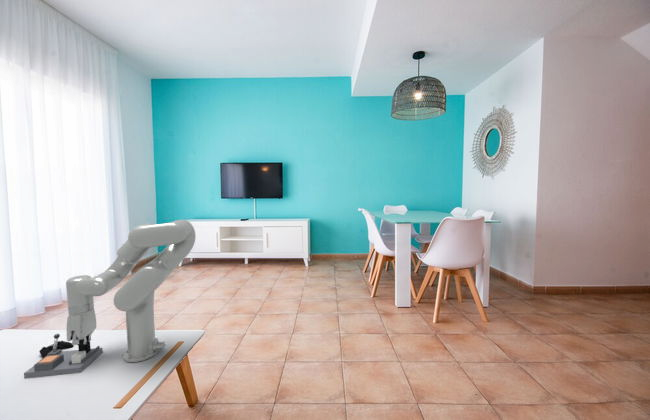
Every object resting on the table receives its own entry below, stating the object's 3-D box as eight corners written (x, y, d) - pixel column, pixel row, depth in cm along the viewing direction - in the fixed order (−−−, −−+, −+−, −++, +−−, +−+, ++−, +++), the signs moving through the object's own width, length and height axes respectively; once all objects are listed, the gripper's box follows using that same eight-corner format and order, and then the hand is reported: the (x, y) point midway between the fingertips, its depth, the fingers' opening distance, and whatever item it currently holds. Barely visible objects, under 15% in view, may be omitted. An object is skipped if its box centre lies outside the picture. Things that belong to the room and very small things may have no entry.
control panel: (102, 352, 115) (101, 341, 115) (80, 372, 102) (79, 360, 102) (53, 356, 112) (52, 346, 112) (24, 378, 99) (23, 366, 99)
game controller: (49, 357, 110) (37, 346, 111) (44, 366, 111) (33, 355, 112) (75, 344, 120) (64, 334, 121) (71, 352, 121) (60, 342, 122)
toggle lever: (58, 349, 111) (61, 333, 113) (55, 350, 110) (58, 333, 111) (53, 350, 111) (56, 333, 113) (49, 351, 109) (52, 334, 111)
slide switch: (86, 358, 107) (85, 350, 107) (80, 362, 105) (80, 355, 104) (77, 358, 107) (76, 351, 107) (71, 363, 104) (71, 356, 104)
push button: (59, 359, 105) (59, 355, 105) (51, 366, 101) (50, 361, 101) (47, 360, 105) (47, 356, 105) (38, 367, 101) (38, 362, 101)
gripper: (83, 300, 114) (86, 343, 116) (55, 317, 100) (59, 365, 101) (103, 299, 116) (106, 341, 117) (78, 315, 101) (82, 363, 102)
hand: (84, 352), depth 109 cm, fingers closed
